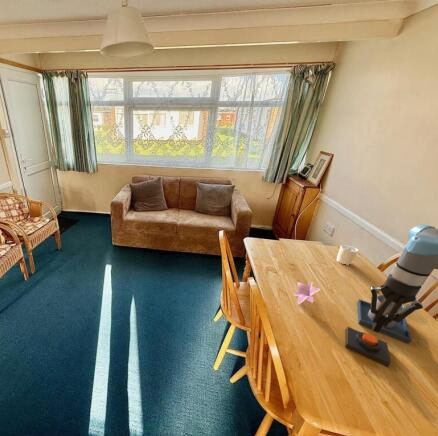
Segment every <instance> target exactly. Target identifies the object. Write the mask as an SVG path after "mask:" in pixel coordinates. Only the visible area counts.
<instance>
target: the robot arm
mask: <svg viewBox="0 0 438 436" xmlns="http://www.w3.org/2000/svg"><path fill="white" fill-rule="evenodd" d="M407 238H408V241H407V243H406V244H405V245H404V247H403V250H402V251H401V253H400V255H399V257H398V258H397V261H396V263H395V264H394V266H393V268H392V269H391V271H390V274H389V275H388V276H387V278H386V279H385V281H384V283H383V284H381V285H380V286H378V287H375V286H373V285H371V286H370V287H369V288H370V293H371V298H370V303H371V307H370V309H371V313H374V314H375V315H374V317H373V322H374V324H373V325H372V328H373V329H372V331H373V332H375V333H377V334H379V333H380V332H379V331H380V329H381V328H382V326H385V327H386V326H387V325H388V324H389V322H392V321H395V322H400V321H401V320H403V319H404V318H405V319H406V318H407V317H408V316H410V315H411V314H413V313H414V312H416V311H417V310H421V309H423V308H424V306H423V304H422V302H421V301H420V300H417V297H416V296H417V295H418V294H419V292H420V290H421V289H422V286H424V284H425V283H426V281H427V280H428V278H429V277H430V276H431V274H432V273H433V271H434V270H438V228H437V227H435V226H432V225H429V224H419V225H416V226H414V227H412V228H411V229H410V230H409V231H408V233H407ZM380 293H381V295H383V296H384V299H383V300H382V302H381V304H380V305H379V307H378V309H376V304H377V296H378V295H380ZM391 302H393V304H392V305H391V307H390V308H389V310H388V312H387V313H386V316H385V315H383V313H384V312H385V310H386V308H387V307H388V305H389V304H390V303H391ZM402 304H403V305H404V304H407V305H405V307H404V308H403V309H402V310H400V311H399V312H398V313H396V312H397V311H398V309H399V308H400V307H401V306H402Z"/></svg>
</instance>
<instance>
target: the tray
mask: <svg viewBox="0 0 438 436" xmlns="http://www.w3.org/2000/svg"><path fill="white" fill-rule="evenodd" d="M370 307H371V302H369V301H366V300H363V299H360V298H358V300H357V302H356V309H357V310H356V311H357V324H358V325H360V326H363V327H365V328H367V329H370V330H373V328H372V325H373V324H374V322H373V321H372V320H371V319H370V318H369V317H368V312H369V311H370ZM410 332H411V331H410V330H409V326H408V322H407V319H406V317H405V318H404V319H403V320H401V321H400V322H396V324H395V325H394V327H392V328H387V327H383V326H382V328H381V329H380V331H379V333H381V334H383V335H385V336H388V337H390V338H393V339H394V340H398V341H400V342H403V343H406V344H408V345H409V344H410V343H411V342H412V336H411V333H410Z"/></svg>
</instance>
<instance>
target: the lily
mask: <svg viewBox="0 0 438 436" xmlns="http://www.w3.org/2000/svg"><path fill="white" fill-rule="evenodd" d="M313 283H314V282H313V281H310V282H308V283H307V284H304V283H302V282H300V281H299V282H297V289H298V291H295V293H294V294H293V296H295V297H297V305H298V306H299V305H301V304H302V303H303V302H304V301H305V300H307V301H308V302H311V303H314V297H313V295H315V294H316V293H318V292H319V291H321V288H319V287H315V286H313Z"/></svg>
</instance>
